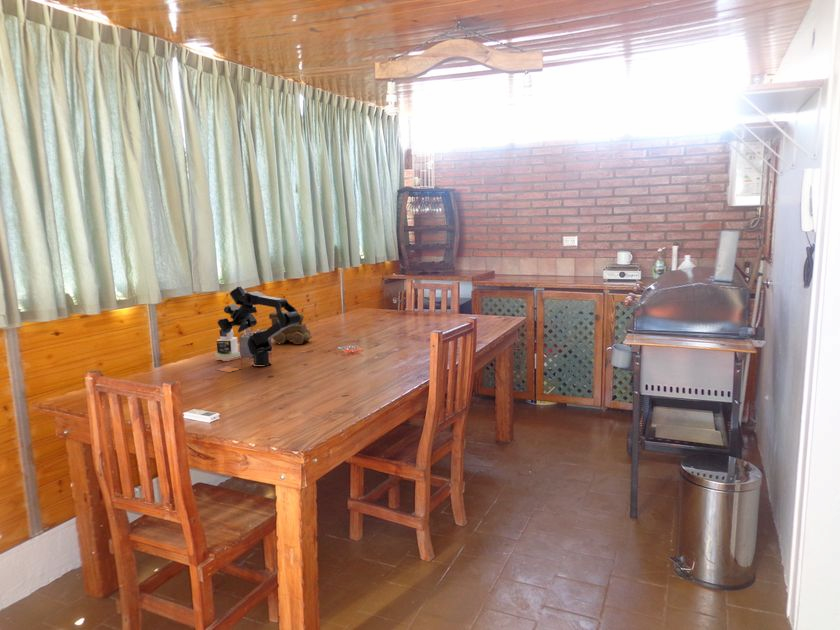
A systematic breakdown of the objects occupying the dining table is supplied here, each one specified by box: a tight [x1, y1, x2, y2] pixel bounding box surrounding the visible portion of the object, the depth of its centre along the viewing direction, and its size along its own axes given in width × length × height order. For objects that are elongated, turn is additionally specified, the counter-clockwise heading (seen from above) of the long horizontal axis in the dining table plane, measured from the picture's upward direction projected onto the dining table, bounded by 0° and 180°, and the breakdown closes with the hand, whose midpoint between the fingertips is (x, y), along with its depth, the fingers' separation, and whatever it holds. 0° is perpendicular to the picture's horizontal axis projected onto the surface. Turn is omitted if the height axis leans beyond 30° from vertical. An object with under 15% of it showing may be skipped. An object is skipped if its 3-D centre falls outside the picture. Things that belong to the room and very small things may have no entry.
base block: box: [214, 351, 241, 359], centre depth 283 cm, size 8×8×3 cm
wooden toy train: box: [268, 310, 313, 345], centre depth 315 cm, size 20×11×17 cm, turn 77°
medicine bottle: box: [216, 328, 239, 355], centre depth 282 cm, size 7×7×12 cm
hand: (230, 333), depth 280 cm, fingers open, 9 cm apart
